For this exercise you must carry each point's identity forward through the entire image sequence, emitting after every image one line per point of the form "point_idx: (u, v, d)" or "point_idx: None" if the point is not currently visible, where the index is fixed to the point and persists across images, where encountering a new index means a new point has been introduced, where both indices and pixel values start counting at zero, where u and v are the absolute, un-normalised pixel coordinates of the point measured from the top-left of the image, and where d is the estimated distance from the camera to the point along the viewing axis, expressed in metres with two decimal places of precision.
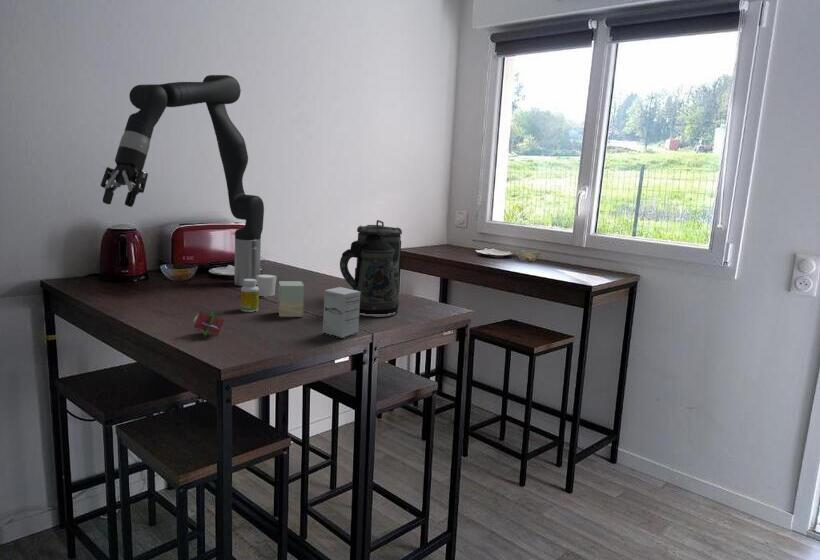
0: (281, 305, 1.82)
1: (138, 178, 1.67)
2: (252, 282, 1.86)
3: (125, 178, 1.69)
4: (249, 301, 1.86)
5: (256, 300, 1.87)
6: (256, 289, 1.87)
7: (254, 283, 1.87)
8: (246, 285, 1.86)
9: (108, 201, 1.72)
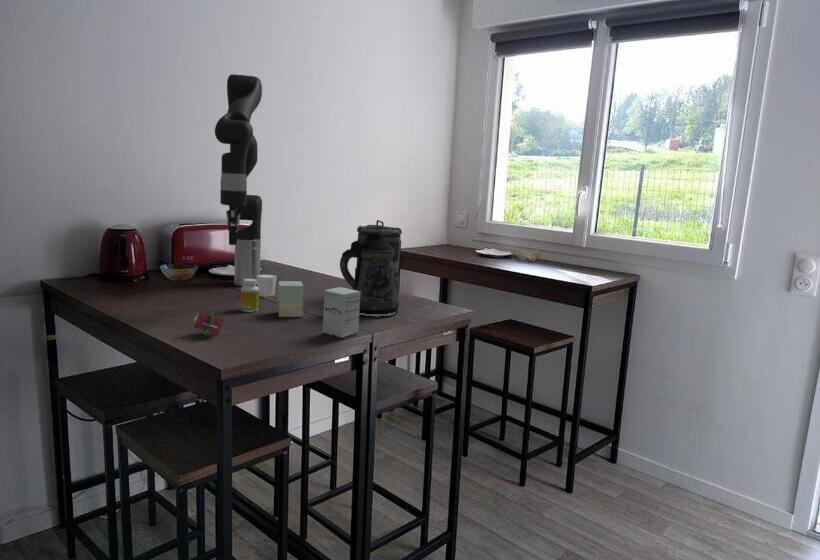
0: (281, 305, 1.82)
1: (228, 219, 1.76)
2: (252, 282, 1.86)
3: (227, 219, 1.80)
4: (249, 301, 1.86)
5: (256, 300, 1.87)
6: (256, 289, 1.87)
7: (254, 283, 1.87)
8: (246, 285, 1.86)
9: None
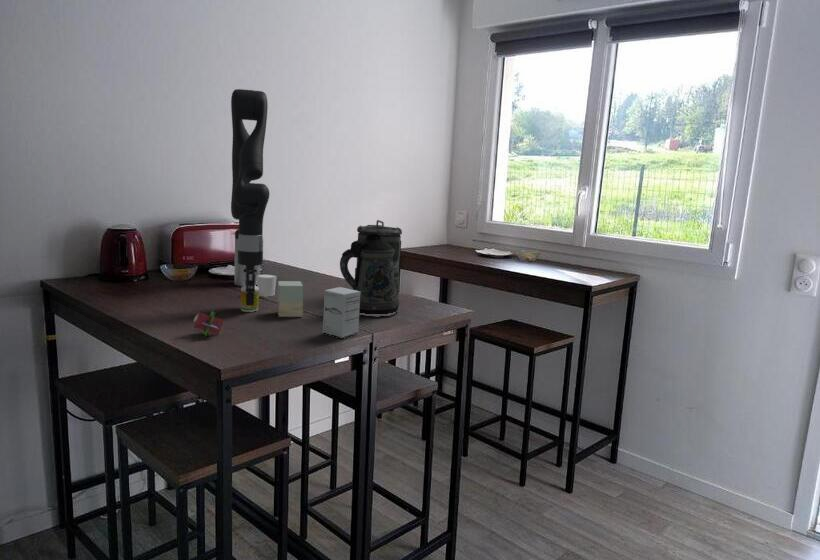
0: (281, 305, 1.82)
1: (246, 282, 1.81)
2: None
3: (244, 279, 1.85)
4: None
5: (256, 300, 1.87)
6: (256, 289, 1.87)
7: None
8: None
9: None
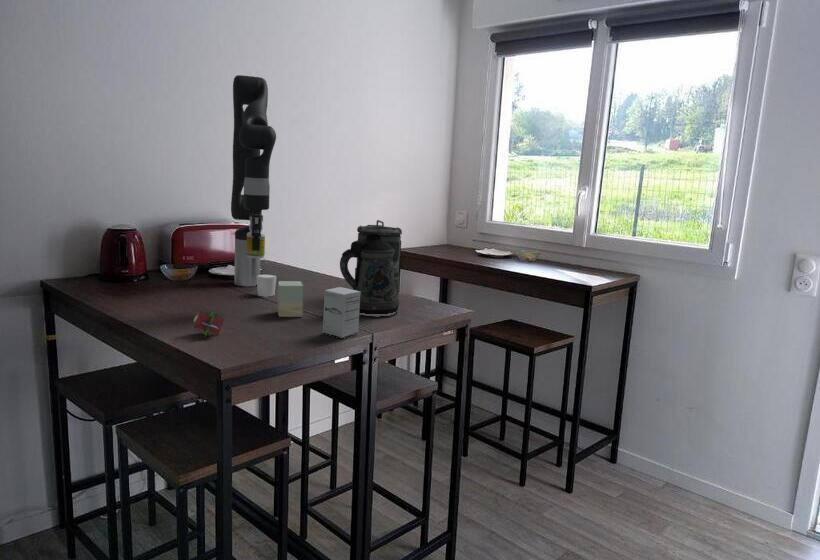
0: (280, 305, 1.82)
1: (252, 225, 1.78)
2: None
3: (250, 223, 1.81)
4: None
5: (262, 246, 1.84)
6: (262, 235, 1.83)
7: None
8: None
9: None
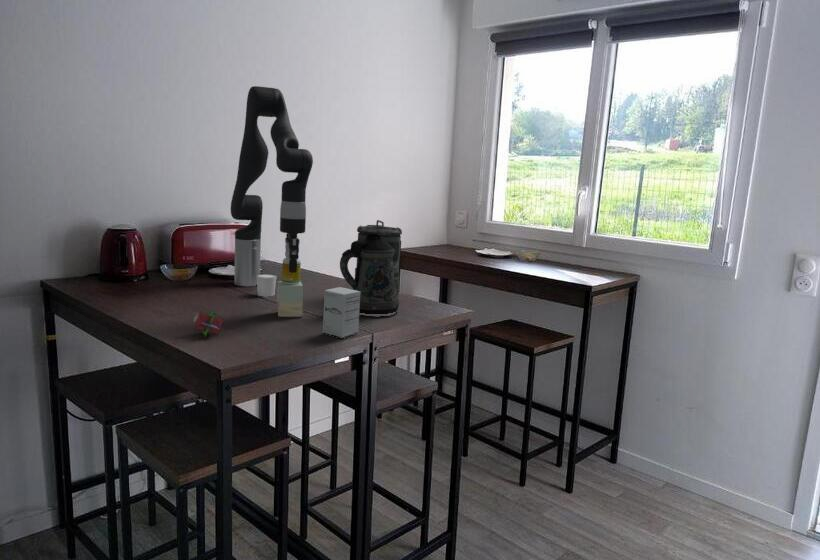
0: (280, 305, 1.82)
1: (290, 247, 1.76)
2: (294, 254, 1.82)
3: (287, 246, 1.80)
4: (291, 274, 1.82)
5: (298, 272, 1.83)
6: (298, 261, 1.83)
7: None
8: (288, 257, 1.82)
9: None
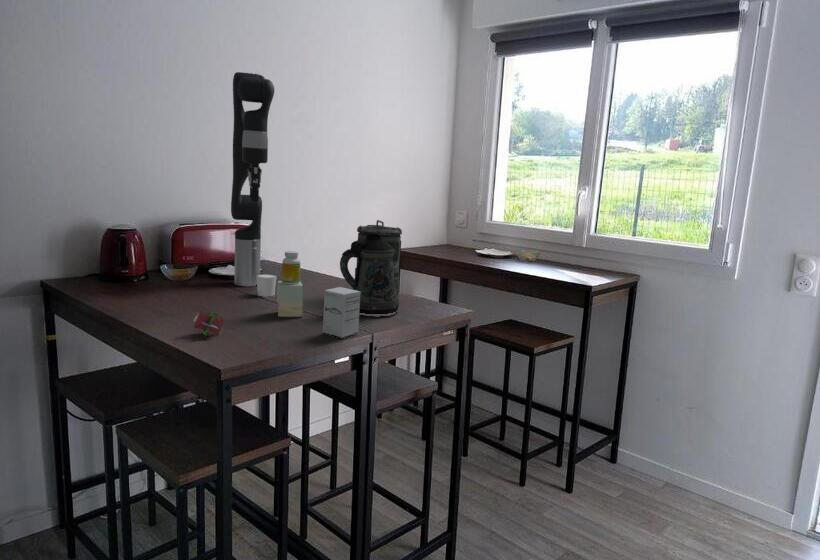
0: (280, 305, 1.82)
1: (251, 175, 1.80)
2: (294, 254, 1.82)
3: (249, 176, 1.84)
4: (291, 274, 1.82)
5: (298, 272, 1.83)
6: (298, 261, 1.83)
7: (296, 255, 1.82)
8: (288, 257, 1.82)
9: None
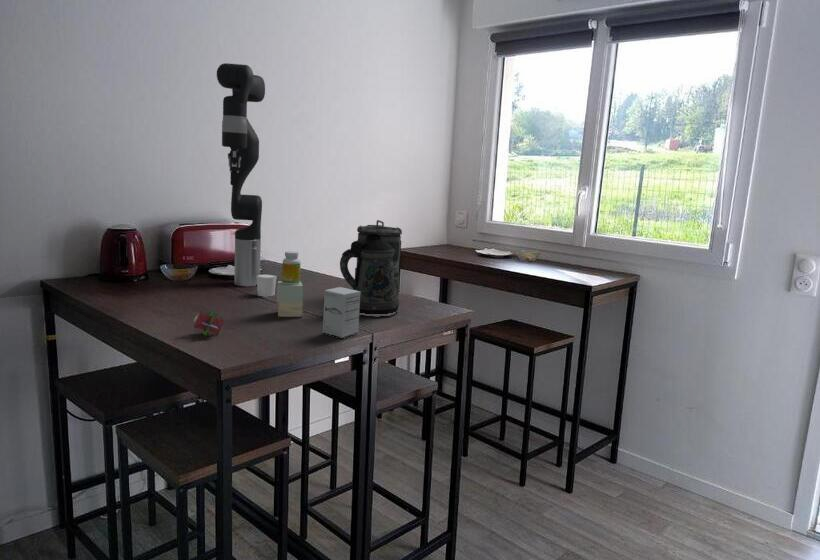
0: (280, 305, 1.82)
1: (230, 159, 1.82)
2: (294, 254, 1.82)
3: None
4: (291, 274, 1.82)
5: (298, 273, 1.83)
6: (298, 261, 1.83)
7: (296, 255, 1.82)
8: (288, 257, 1.82)
9: None
